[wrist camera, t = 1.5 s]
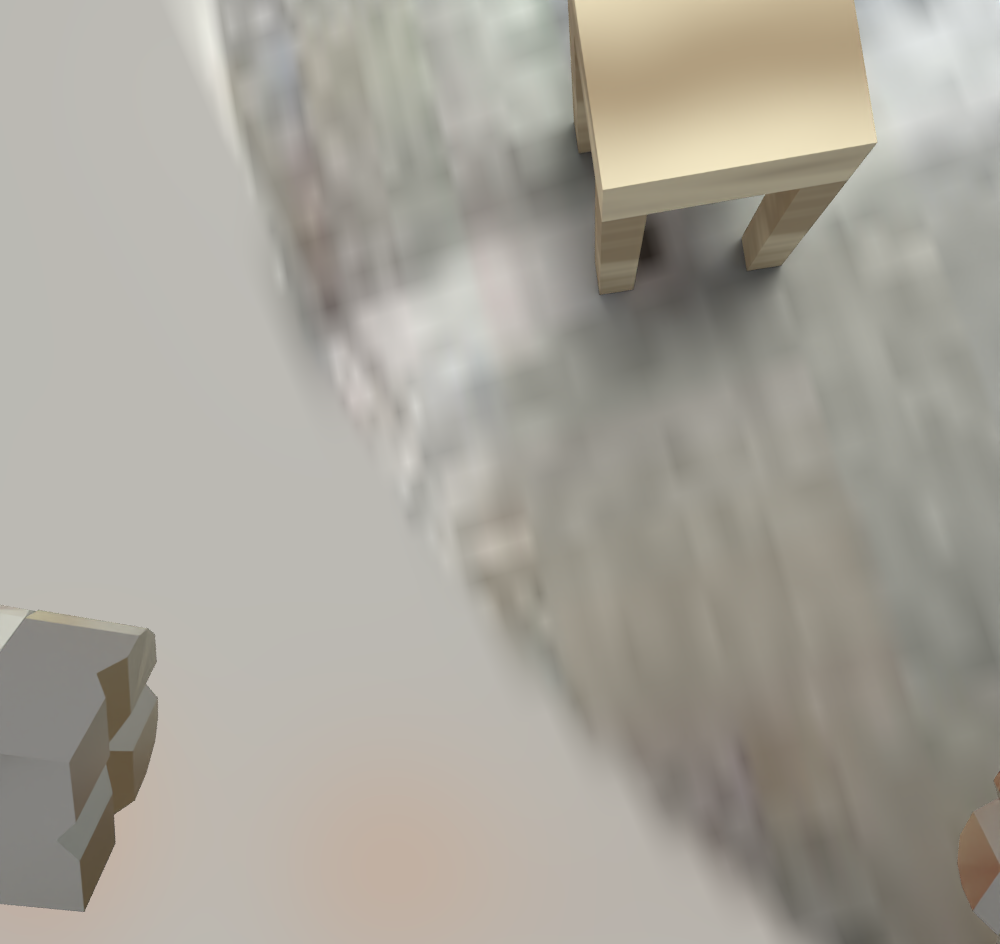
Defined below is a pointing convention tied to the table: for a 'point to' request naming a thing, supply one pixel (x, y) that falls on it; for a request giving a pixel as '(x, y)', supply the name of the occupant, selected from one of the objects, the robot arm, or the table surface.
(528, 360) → the table surface
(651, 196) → the stool
